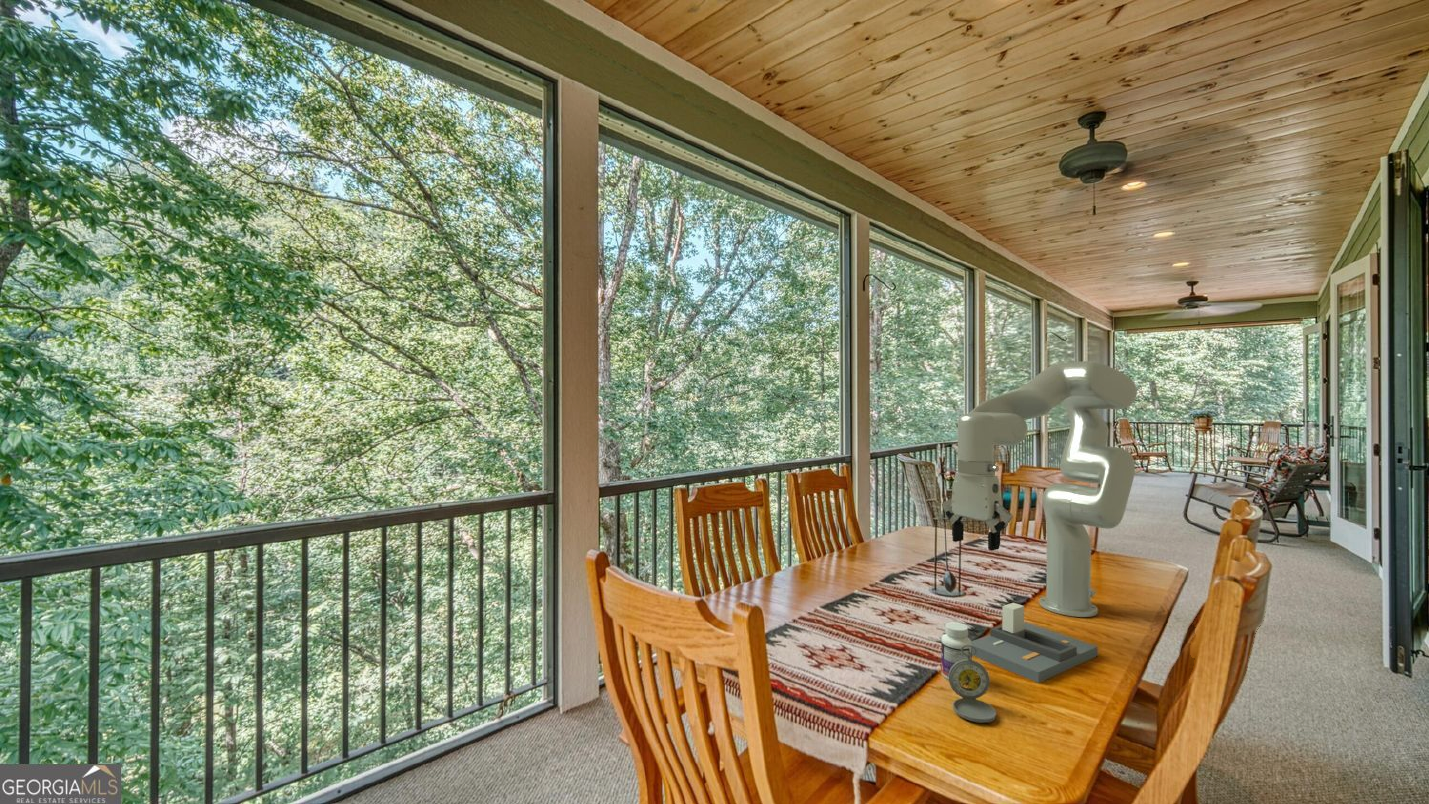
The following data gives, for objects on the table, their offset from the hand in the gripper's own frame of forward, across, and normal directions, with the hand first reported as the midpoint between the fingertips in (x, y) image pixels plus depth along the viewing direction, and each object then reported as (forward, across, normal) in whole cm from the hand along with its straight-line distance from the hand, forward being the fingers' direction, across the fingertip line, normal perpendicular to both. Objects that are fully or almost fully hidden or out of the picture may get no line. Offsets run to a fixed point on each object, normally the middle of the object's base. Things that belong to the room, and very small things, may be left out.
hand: (975, 544), depth 130 cm
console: (+20, -13, 0) cm, 24 cm away
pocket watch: (+20, -20, +30) cm, 41 cm away
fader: (+18, -9, 0) cm, 20 cm away
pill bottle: (+20, -11, +22) cm, 32 cm away
